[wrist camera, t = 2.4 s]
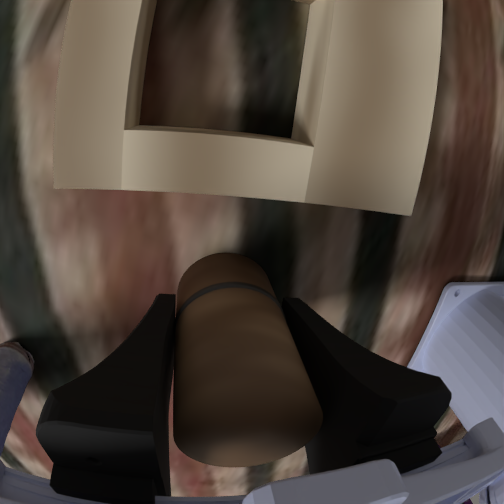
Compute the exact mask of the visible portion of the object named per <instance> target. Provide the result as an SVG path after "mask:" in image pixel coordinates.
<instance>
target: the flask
mask: <svg viewBox="0 0 504 504" xmlns="http://www.w3.org/2000/svg"><path fill="white" fill-rule="evenodd" d="M26 352H27V353H28V355H29V358H30V361H29V358H28V356H27V353H26ZM30 362H31V363H30ZM34 362H35V361H34V360H33V357H32V356H31V354H30V352H28V351H26V350H25V349H23V348H22V347H21V346H20V344H19V342H13V343H12V342H11V343H10V342H8V343H3V344H0V456H1V453H2V450H3V447H4V443H5V440H6V437H7V434H8V432H9V430H10V427H11V423H12V420H13V418H14V415H15V412H16V410H17V407H18V405H19V403H20V401H21V399H22V396H23V393H24V391H25V388H26V386H27V383H28V381H29V379H30V378H31V376H32V373H33V370H34Z"/></svg>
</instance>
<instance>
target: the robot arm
mask: <svg viewBox="0 0 504 504" xmlns="http://www.w3.org/2000/svg"><path fill="white" fill-rule="evenodd" d="M175 296H176V294H159V295H157V296H156V298H155V300H154V302H153V304H152V305H151V307H150V309H149V310H148V312H147V313H146V315H145V316H144V317H143V319H142V320H141V321H140V323H139V324H138V325H137V327H136V328H135V329H134V330H133V331H132V333H131V334H130V335H129V336H128V337H127V339H126V340H125V341H124V342H123V343H122V344H121V345H120V346H119V347H118V348H117V349H116V350H115V351H114V352H113V353H111V354H110V355H109V356H108V357H107V358H105V359H104V360H103V361H102V362H101V363H99V364H98V365H97V366H95V367H94V368H93V369H91V370H90V371H88V372H87V373H85V374H83V375H82V376H80V377H78V378H77V379H75V380H73V381H71V382H69V383H67V384H65V385H63V386H61V387H59V388H57V389H55V390H52V391H51V392H50V394H49V396H48V398H47V400H46V402H45V404H44V407H43V409H42V412H41V415H40V418H39V421H38V424H37V428H36V436H37V438H38V441H39V442H40V444H41V446H42V447H43V449H44V450H45V452H46V453H47V455H48V456H49V457H50V459H51V460H52V462H53V463H54V464H53V469H52V474H51V479H50V480H49V479H46V478H42V477H38V476H34V475H31V474H27V473H24V472H21V471H18V470H14V469H11V468H8V467H5V465H4V464H3V462H2V461H1V460H0V504H461V503H463V502H464V501H466V500H468V499H469V498H471V497H472V496H474V495H476V494H477V493H479V492H480V493H479V504H504V282H451V283H449V284H447V285H446V286H445V287H444V289H443V292H442V294H441V296H440V299H439V301H438V304H437V306H436V308H435V310H434V313H433V315H432V317H431V319H430V322H429V324H428V326H427V328H426V330H425V332H424V334H423V337H422V339H421V341H420V343H419V345H418V347H417V349H416V351H415V353H414V355H413V357H412V358H411V360H410V362H409V364H408V366H407V367H404V366H402V365H399V364H397V363H394V362H392V361H389V360H387V359H385V358H383V357H381V356H379V355H377V354H375V353H373V352H371V351H369V350H368V349H366V348H364V347H363V346H361V345H359V344H357V343H356V342H354V341H353V340H351V339H350V338H348V337H347V336H346V335H344V334H343V333H341V332H340V331H339V330H337V329H336V328H335V327H333V326H332V325H331V324H330V323H328V322H327V321H326V320H325V319H323V318H322V317H321V316H320V315H319V314H317V313H316V312H315V311H314V310H313V309H311V308H310V307H309V306H308V305H307V304H305V303H304V302H303V301H302V300H300V299H299V298H283V302H282V309H283V312H284V315H285V317H286V323H287V325H288V328H289V330H290V333H291V335H292V338H293V340H294V342H295V345H296V347H297V350H298V352H299V355H300V357H301V360H302V362H303V365H304V367H305V369H306V372H307V374H308V377H309V379H310V382H311V384H312V387H313V389H314V392H315V394H316V397H317V399H318V401H319V404H320V406H321V409H322V412H323V422H322V425H321V427H320V429H319V431H318V433H317V434H316V435H315V436H314V438H313V439H312V440H311V441H309V442H308V443H307V444H306V445H305V448H306V454H307V459H308V465H309V471H310V475H304V476H298V477H291V478H287V479H283V480H278V481H273V482H270V483H267V484H265V485H262V486H260V487H257V488H255V489H254V490H253V491H251V492H250V493H249V494H248V495H239V496H221V497H171V486H170V467H169V425H168V414H169V401H170V393H171V385H172V377H173V369H174V350H175V338H174V325H175ZM448 406H450V407H451V408H452V410H453V411H454V413H455V414H456V416H457V417H458V419H459V420H460V421H461V423H462V424H463V426H464V427H465V429H466V430H467V433H466V435H465V436H464V438H463V439H461V440H459V441H457V442H454V443H452V444H450V445H447V446H445V447H443V448H440V447H439V446H438V444H437V442H436V441H435V439H434V437H435V436H436V435H437V432H436V430H435V429H434V427H433V426H434V425H435V424H436V423H437V421H438V420H439V419H440V417H441V416H442V415H443V413H444V412H445V411H446V409H447V408H448Z"/></svg>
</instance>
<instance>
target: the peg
mask: <svg viewBox="0 0 504 504" xmlns="http://www.w3.org/2000/svg"><path fill="white" fill-rule="evenodd" d="M174 338H175V350H174V388H173V437H174V441H175V443H176V445H177V447H178V448H179V449H180V450H181V451H182V452H183V453H184V454H186V455H187V456H189V457H190V458H192V459H194V460H196V461H199V462H202V463H205V464H209V465H214V466H221V467H248V466H255V465H260V464H265V463H269V462H272V461H275V460H278V459H281V458H283V457H286V456H288V455H290V454H292V453H294V452H296V451H297V450H299V449H300V448H302V447H303V446H305V445H306V444H307V443H308V442H309V441H311V440H312V439H313V438H314V436H315V435H316V434H317V433H318V431H319V429H320V427H321V425H322V422H323V412H322V409H321V406H320V404H319V401H318V399H317V397H316V394H315V392H314V389H313V387H312V384H311V382H310V379H309V377H308V374H307V372H306V369H305V367H304V365H303V362H302V360H301V357H300V355H299V352H298V350H297V347H296V345H295V342H294V340H293V338H292V335H291V333H290V330H289V328H288V325H287V323H286V317H285V315H284V312H283V309H282V307H281V305H280V304H279V302H278V301H277V299H276V296H275V294H274V291H273V289H272V286H271V284H270V281H269V279H268V277H267V275H266V273H265V271H264V270H263V269H262V267H261V266H259V265H258V264H257V263H256V262H255V261H253V260H252V259H250V258H248V257H245V256H243V255H239V254H234V253H218V254H213V255H209V256H207V257H204V258H202V259H200V260H198V261H197V262H195V263H194V264H193V265H191V266H190V267H189V268H188V269H187V271H186V272H185V273H184V275H183V276H182V278H181V280H180V282H179V286H178V293H177V308H176V318H175V325H174Z"/></svg>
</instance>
